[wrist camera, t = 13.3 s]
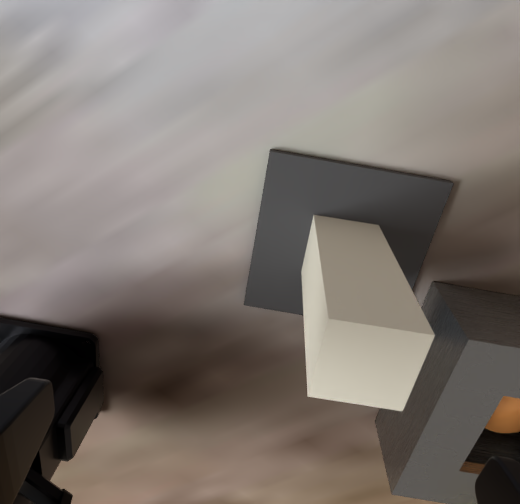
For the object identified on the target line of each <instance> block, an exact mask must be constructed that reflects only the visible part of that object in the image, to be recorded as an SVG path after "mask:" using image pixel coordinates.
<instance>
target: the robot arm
mask: <svg viewBox="0 0 520 504" xmlns="http://www.w3.org/2000/svg"><path fill="white" fill-rule="evenodd" d="M86 341H88V342H90V343H91V344H90V343H87V342H86ZM103 401H104V395H103V371H102V369H101V368H100V367H99V341H98V338H97V337H96V336H95V335H93V334H91V333H86V332H81V331H75V330H69V329H63V328H57V327H51V326H45V325H39V324H34V323H28V322H22V321H16V320H10V319H4V318H0V504H71V500H72V496H73V495H72V494H71V493H69V492H68V491H67V490H65V489H60V488H59V487H57V486H56V485H55V484H53V483H52V482H51V481H50V480H51V478H52V476H53V474H54V472H55V471H56V469H57V467H58V465H59V463H60V462H61V460H62V461H69V460H71V459H72V458H73V457H74V456H75V454H76V452H77V450H78V448H79V446H80V444H81V442H82V441H83V439H84V437H85V435H86V433H87V431H88V429H89V427H90V426H91V424H92V422H93V420H94V419H96V418H97V417H98V415H99V413H100V410H101V408H100V407H101V405H102V403H103ZM475 495H476V499H477V504H520V464H519V463H518V462H517V461H516V460H514V459H511V458H506V457H500V456H492V457H491V458H489V460H488V461H487V463H486V464H485V466H484V468H483V469H482V471H481V472H480V474H479V475H478V477H477V479H476V482H475Z"/></svg>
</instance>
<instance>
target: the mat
mask: <svg viewBox="0 0 520 504" xmlns="http://www.w3.org/2000/svg"><path fill="white" fill-rule="evenodd" d="M452 186H453V183H452V182H451V181H448V180H442V179H437V178H431V177H425V176H419V175H414V174H408V173H402V172H397V171H391V170H385V169H380V168H374V167H368V166H363V165H357V164H351V163H346V162H340V161H334V160H329V159H323V158H317V157H312V156H306V155H300V154H295V153H289V152H283V151H278V150H272V149H270V154H269V160H268V165H267V171H266V177H265V183H264V189H263V195H262V201H261V207H260V213H259V218H258V224H257V230H256V236H255V242H254V248H253V254H252V260H251V266H250V271H249V277H248V283H247V289H246V295H245V301H244V305H247V306H252V307H258V308H264V309H270V310H276V311H281V312H287V313H293V314H299V315H303V295H302V275H301V271H302V266H303V261H304V257H305V252H306V247H307V243H308V238H309V234H310V229H311V224H312V220H313V215H319V216H325V217H331V218H338V219H344V220H350V221H357V222H363V223H369V224H376V225H379V227H380V229H381V231H382V233H383V234H384V236H385V238H386V240H387V242H388V244H389V246H390V248H391V250H392V252H393V254H394V256H395V258H396V260H397V262H398V264H399V266H400V268H401V270H402V272H403V274H404V276H405V278H406V280H407V281H408V283H409V285H410V287H411V289H413V286H414V284H415V281H416V279H417V276H418V273H419V271H420V268H421V266H422V263H423V261H424V258H425V255H426V253H427V250H428V248H429V245H430V243H431V240H432V238H433V235H434V232H435V230H436V227H437V225H438V222H439V220H440V217H441V214H442V212H443V209H444V207H445V204H446V202H447V199H448V197H449V194H450V191H451V189H452Z"/></svg>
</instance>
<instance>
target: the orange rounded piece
mask: <svg viewBox="0 0 520 504" xmlns="http://www.w3.org/2000/svg"><path fill="white" fill-rule="evenodd" d="M485 428H486V429H488V430H490V431H493V432H497V433H515V432H520V399H519V398H513V397H508V396H503V398H502V399H501V401H500V403H499V404H498V406H497V408H496V410H495V411H494V413H493V415H492V416H491V418H490V420H489V421H488V423H487V425H486V426H485Z"/></svg>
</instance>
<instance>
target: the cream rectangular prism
mask: <svg viewBox="0 0 520 504" xmlns="http://www.w3.org/2000/svg"><path fill="white" fill-rule="evenodd" d="M301 275H302V295H303V315H304V335H305V354H306V374H307V394H308V397H314V398H320V399H327V400H333V401H339V402H346V403H352V404H358V405H365V406H371V407H378V408H384V409H390V410H397V411H403V410H404V407H405V405H406V403H407V400H408V398H409V395H410V393H411V391H412V388H413V386H414V384H415V381H416V379H417V377H418V374H419V372H420V370H421V367H422V365H423V363H424V360H425V358H426V356H427V353H428V351H429V348H430V346H431V344H432V341H433V339H434V337H435V334H434V332H433V330H432V328H431V327H430V325H429V323H428V321H427V319H426V317H425V315H424V313H423V311H422V309H421V307H420V305H419V303H418V301H417V299H416V297H415V295H414V293H413V291H412V289H411V287H410V285H409V283H408V281H407V280H406V278H405V276H404V274H403V272H402V270H401V268H400V266H399V264H398V262H397V260H396V258H395V256H394V254H393V252H392V250H391V248H390V246H389V244H388V242H387V240H386V238H385V236H384V234H383V233H382V231H381V229H380V227H379V225H376V224H369V223H363V222H357V221H350V220H344V219H338V218H331V217H325V216H319V215H313V220H312V224H311V229H310V234H309V238H308V243H307V247H306V252H305V257H304V261H303V266H302V271H301Z"/></svg>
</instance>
